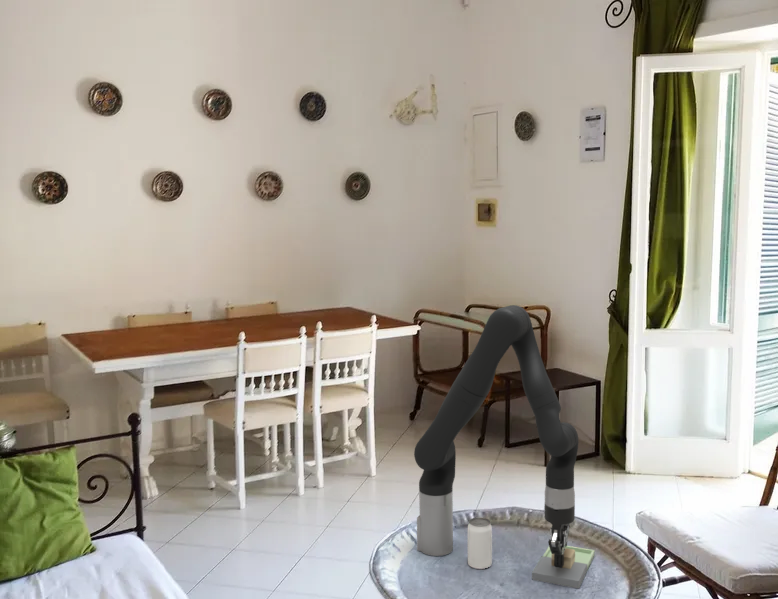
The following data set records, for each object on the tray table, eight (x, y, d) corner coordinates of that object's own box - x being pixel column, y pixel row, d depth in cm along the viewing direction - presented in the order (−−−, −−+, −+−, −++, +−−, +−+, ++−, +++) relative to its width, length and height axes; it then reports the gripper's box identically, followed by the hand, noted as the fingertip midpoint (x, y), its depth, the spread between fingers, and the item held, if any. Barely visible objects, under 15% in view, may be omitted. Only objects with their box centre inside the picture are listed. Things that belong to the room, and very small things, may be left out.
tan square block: (551, 565, 212) (551, 554, 212) (556, 557, 217) (556, 546, 216) (570, 568, 210) (570, 557, 210) (574, 560, 215) (575, 549, 214)
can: (491, 570, 214) (490, 527, 213) (466, 569, 216) (466, 525, 214) (492, 559, 221) (492, 517, 219) (468, 558, 222) (468, 515, 220)
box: (542, 562, 218) (542, 557, 218) (550, 547, 227) (550, 542, 227) (587, 570, 213) (587, 565, 213) (594, 555, 222) (594, 550, 222)
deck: (531, 579, 209) (531, 572, 209) (541, 563, 218) (541, 556, 218) (578, 588, 204) (579, 581, 204) (587, 571, 213) (587, 564, 213)
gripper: (551, 490, 215) (551, 553, 217) (538, 509, 203) (537, 574, 205) (580, 494, 211) (579, 558, 214) (568, 513, 200) (567, 580, 202)
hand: (559, 566), depth 210 cm, fingers closed
